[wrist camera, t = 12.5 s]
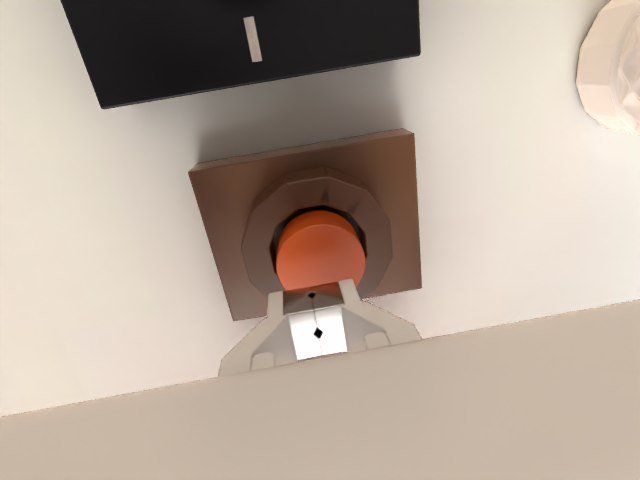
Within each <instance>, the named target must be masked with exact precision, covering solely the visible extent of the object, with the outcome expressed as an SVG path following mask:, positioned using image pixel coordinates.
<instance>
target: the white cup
mask: <svg viewBox="0 0 640 480" xmlns="http://www.w3.org/2000/svg"><path fill="white" fill-rule="evenodd" d="M576 86H577V89H578V92H579V95H580V98H581V101H582V104H583V107H584V110H585V112H586V113H587V114H589V115H590V116H591V117H592V118H594V119H595V120H596V121H597V122H599V123H600V124H601V125H603V126H604V127H605V128H607V129H611V130H616V131H620V132H625V133H629V134H634V135H639V136H640V0H611V1H610V2H609V3H608V4H607V5H606V6H604V7H603V8H602V9H601V10H600V11H599V13H598V15H597V17H596V19H595V21H594V23H593V25H592V27H591V28H590V30H589V32H588V34H587V36H586V38H585V40H584V42H583V44H582V46H581V48H580V54H579V62H578V70H577V77H576Z"/></svg>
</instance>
